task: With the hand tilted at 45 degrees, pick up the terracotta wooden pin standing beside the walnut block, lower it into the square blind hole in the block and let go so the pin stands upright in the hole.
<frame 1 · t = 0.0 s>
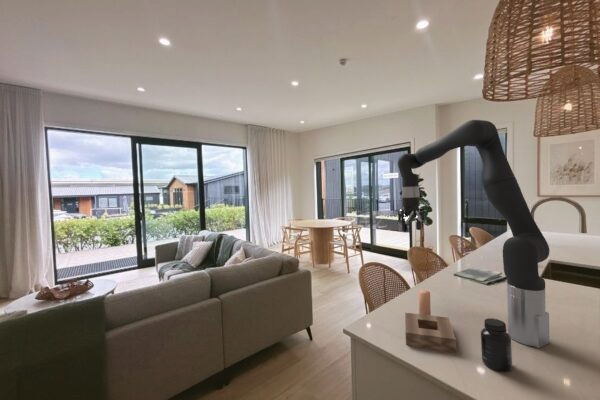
hand: (411, 230, 124), 29 cm above the counter, tool pointing down, fingers open, 8 cm apart
dish towel: (479, 278, 141), on the counter
socket block: (428, 336, 88), on the counter
supplement bottle: (496, 365, 73), on the counter
pin: (425, 317, 101), on the counter
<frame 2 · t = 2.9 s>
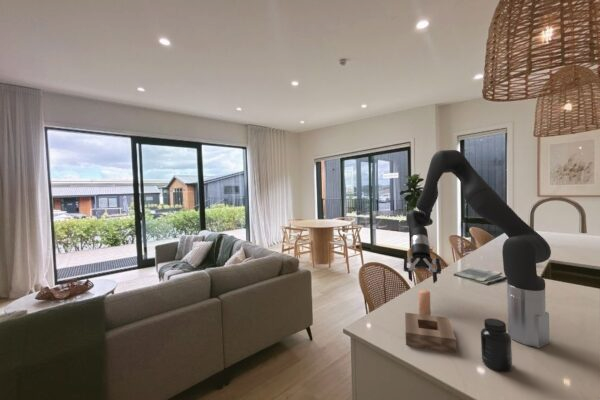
hand: (422, 281, 107), 11 cm above the counter, tool tilted 45°, fingers open, 8 cm apart
nothing on the counter moved.
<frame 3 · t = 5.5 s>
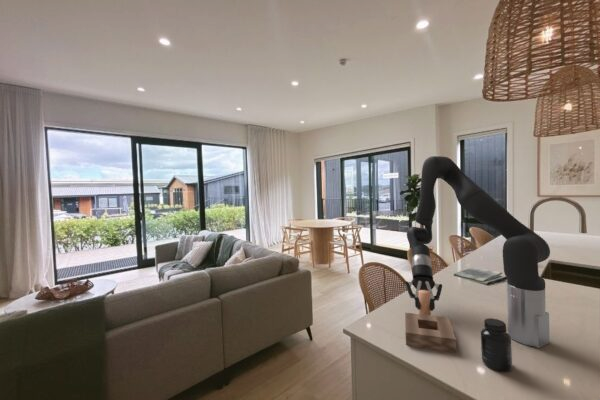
hand: (425, 309, 99), 4 cm above the counter, tool tilted 45°, fingers closed on pin, 4 cm apart
pin: (425, 317, 101), on the counter, touching gripper
everything else where it was.
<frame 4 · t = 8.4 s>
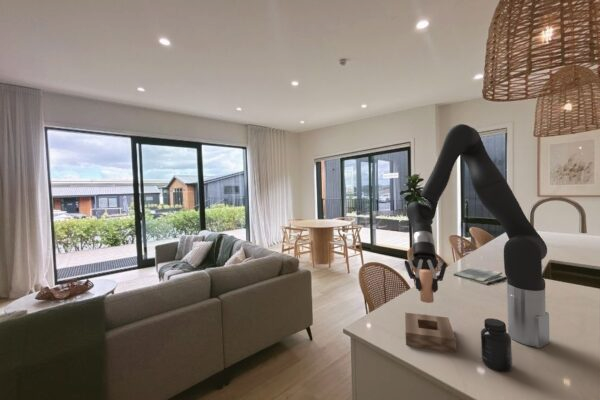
hand: (427, 290, 87), 16 cm above the counter, tool tilted 45°, fingers closed on pin, 4 cm apart
pin: (426, 300, 89), point 12 cm above the counter, touching gripper
everything else where it was.
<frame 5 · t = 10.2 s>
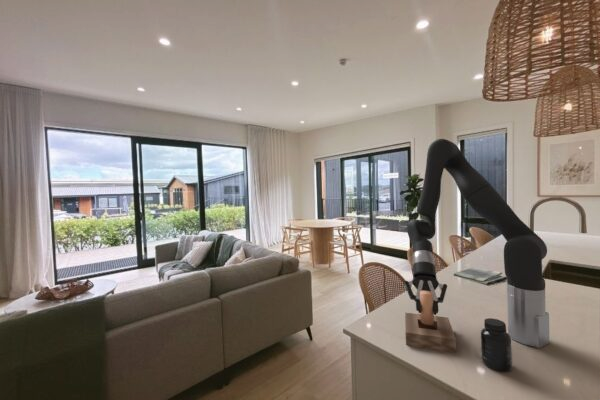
hand: (427, 312, 86), 9 cm above the counter, tool tilted 45°, fingers closed on pin, 4 cm apart
pin: (427, 322, 88), point 5 cm above the counter, touching gripper
everything else where it was.
when the fingers open (7 cm above the counter, at t = 11.6 s): pin drops 1 cm, resting on socket block.
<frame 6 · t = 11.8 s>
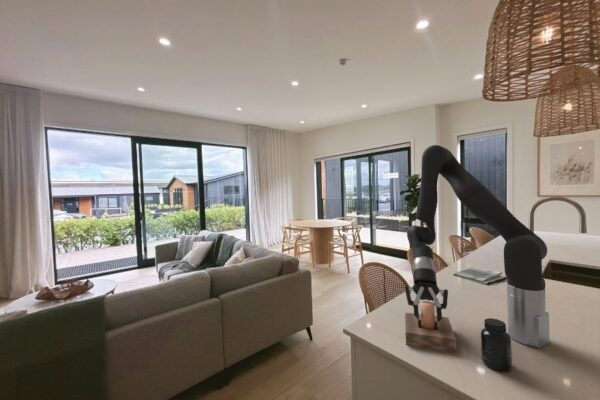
hand: (428, 319, 87), 7 cm above the counter, tool tilted 45°, fingers open, 5 cm apart
pin: (427, 333, 88), point 1 cm above the counter, touching socket block
everything else where it was.
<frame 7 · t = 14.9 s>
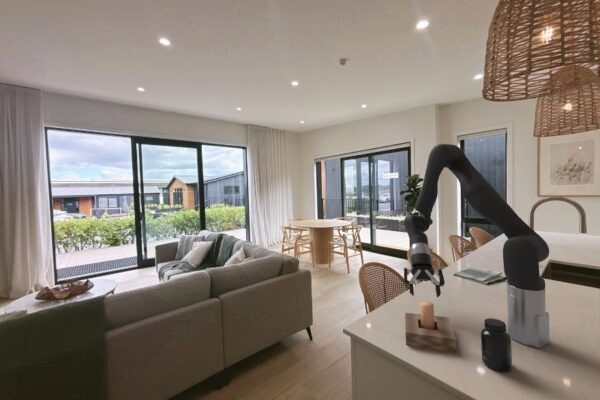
hand: (425, 295, 99), 9 cm above the counter, tool tilted 40°, fingers open, 8 cm apart
nothing on the counter moved.
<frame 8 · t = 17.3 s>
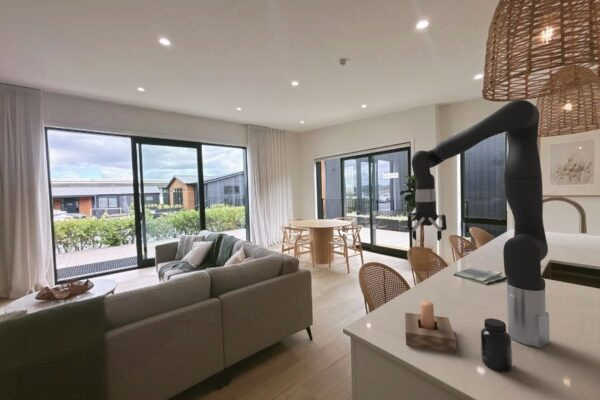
hand: (426, 240, 108), 28 cm above the counter, tool pointing down, fingers open, 8 cm apart
nothing on the counter moved.
at the end: pin 0.1 cm off-centre on the socket block, point 1.0 cm above the socket block's base; pin tilted 0°; the gripper is holding nothing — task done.
